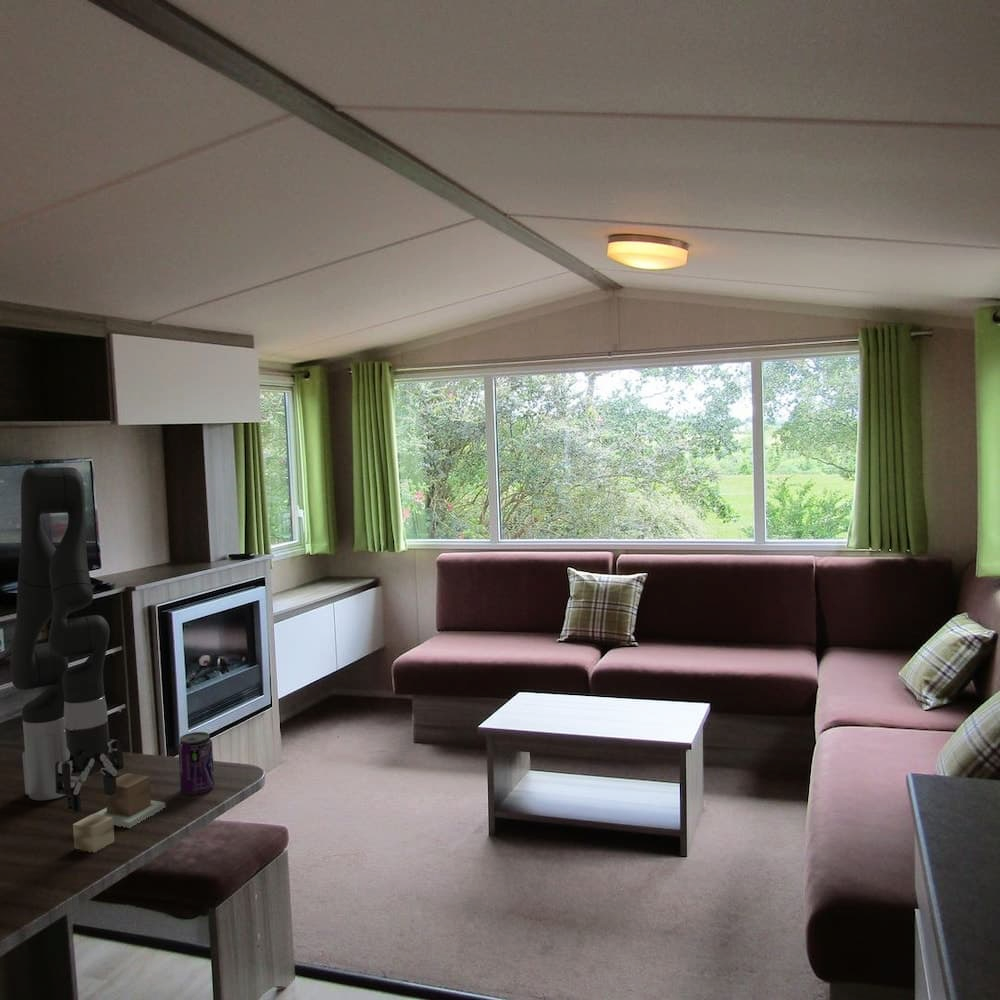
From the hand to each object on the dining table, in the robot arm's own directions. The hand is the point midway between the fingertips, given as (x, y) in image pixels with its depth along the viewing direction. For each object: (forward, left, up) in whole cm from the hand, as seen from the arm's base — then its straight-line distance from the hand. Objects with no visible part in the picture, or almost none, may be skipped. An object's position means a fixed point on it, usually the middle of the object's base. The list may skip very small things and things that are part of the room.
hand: (93, 803), depth 181 cm
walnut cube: (-4, +13, -7) cm, 15 cm away
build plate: (-4, +13, -8) cm, 16 cm away
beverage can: (+1, +28, -9) cm, 29 cm away
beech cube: (0, 0, -9) cm, 9 cm away
